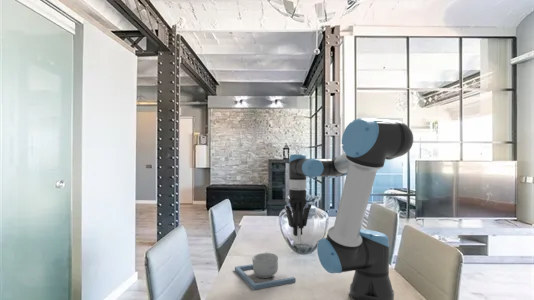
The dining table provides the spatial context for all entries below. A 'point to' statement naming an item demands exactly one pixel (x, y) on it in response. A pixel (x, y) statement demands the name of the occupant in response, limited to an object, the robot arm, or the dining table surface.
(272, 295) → the dining table surface
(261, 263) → the teacup
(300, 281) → the dining table surface
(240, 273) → the tray frame
